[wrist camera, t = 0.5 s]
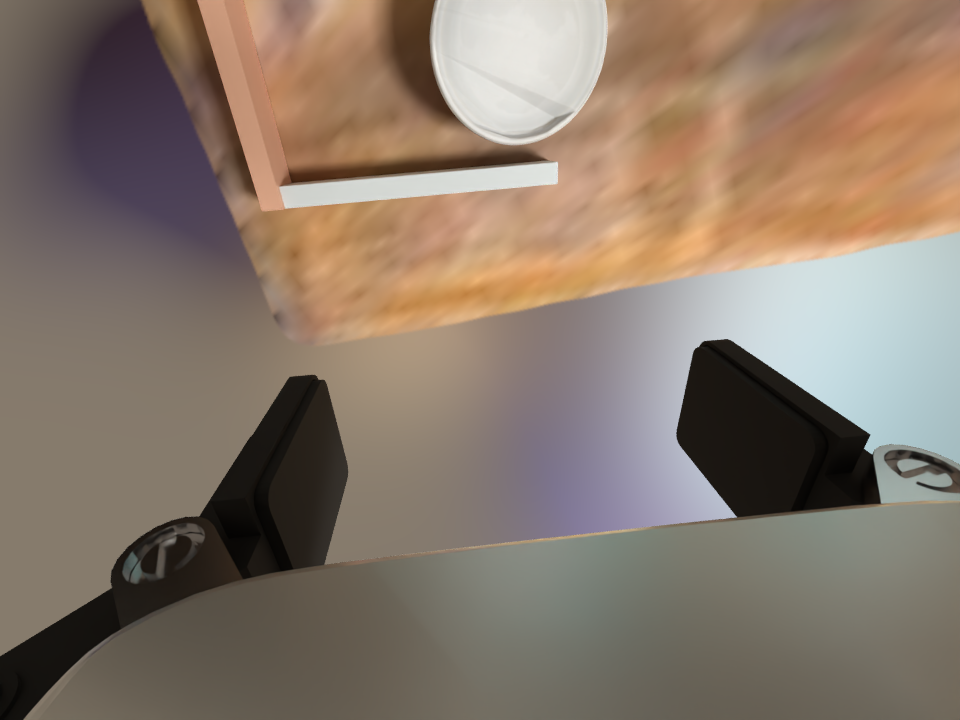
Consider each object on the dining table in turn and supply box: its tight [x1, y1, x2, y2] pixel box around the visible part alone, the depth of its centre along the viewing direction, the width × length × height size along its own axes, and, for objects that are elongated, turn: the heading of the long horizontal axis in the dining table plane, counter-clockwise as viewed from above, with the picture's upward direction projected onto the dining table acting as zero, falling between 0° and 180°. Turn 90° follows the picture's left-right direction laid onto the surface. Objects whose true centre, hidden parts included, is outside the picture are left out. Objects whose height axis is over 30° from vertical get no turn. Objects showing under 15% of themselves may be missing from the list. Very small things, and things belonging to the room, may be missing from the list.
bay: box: [197, 0, 558, 211], centre depth 28 cm, size 17×22×4 cm
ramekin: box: [429, 0, 607, 145], centre depth 28 cm, size 11×11×5 cm
